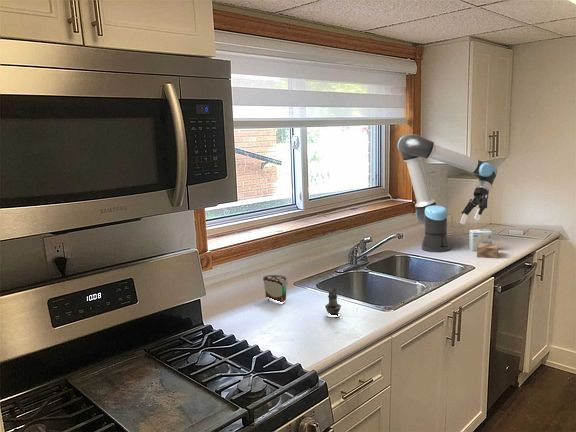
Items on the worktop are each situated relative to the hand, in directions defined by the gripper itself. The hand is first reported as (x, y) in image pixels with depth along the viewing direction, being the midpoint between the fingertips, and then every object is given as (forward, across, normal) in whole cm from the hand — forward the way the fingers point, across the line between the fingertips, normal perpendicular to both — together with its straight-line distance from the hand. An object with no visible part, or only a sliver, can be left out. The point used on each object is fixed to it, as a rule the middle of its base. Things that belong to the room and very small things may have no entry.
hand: (468, 222), depth 258 cm
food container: (+94, -34, +79) cm, 127 cm away
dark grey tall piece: (+91, -55, +62) cm, 123 cm away
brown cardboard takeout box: (+17, -12, -11) cm, 23 cm away
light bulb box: (+12, -2, -12) cm, 16 cm away
